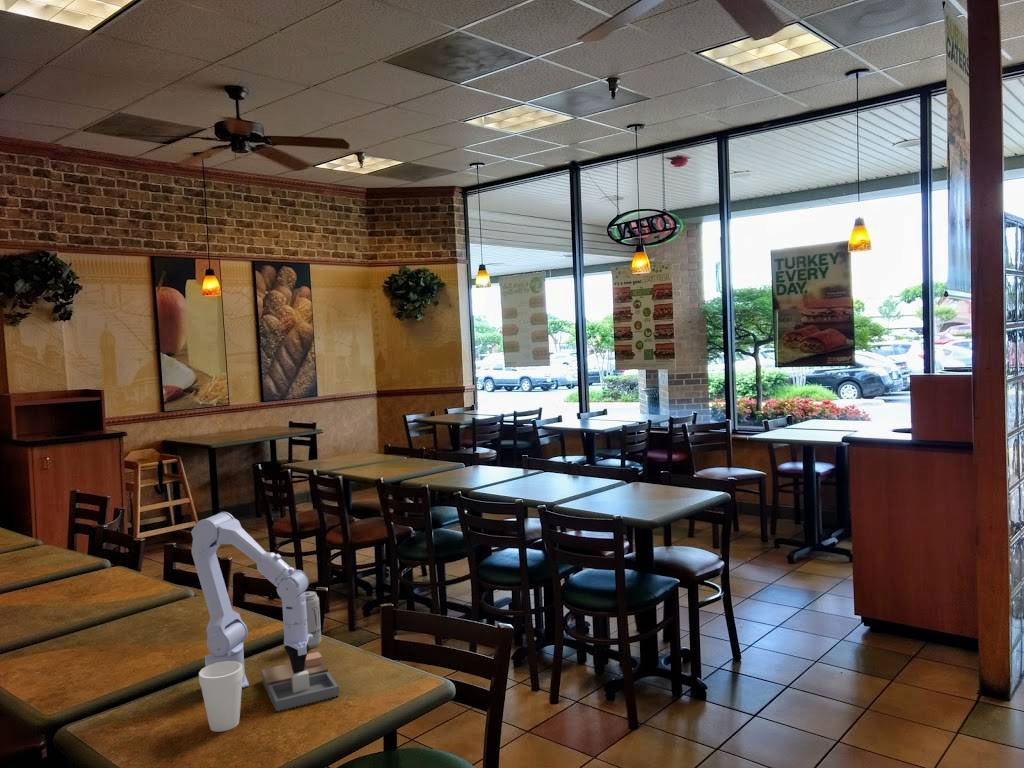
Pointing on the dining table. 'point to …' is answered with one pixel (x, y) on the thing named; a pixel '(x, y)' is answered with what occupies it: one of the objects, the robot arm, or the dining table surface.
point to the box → (303, 692)
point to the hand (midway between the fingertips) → (298, 673)
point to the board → (287, 673)
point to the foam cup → (222, 694)
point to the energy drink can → (313, 618)
